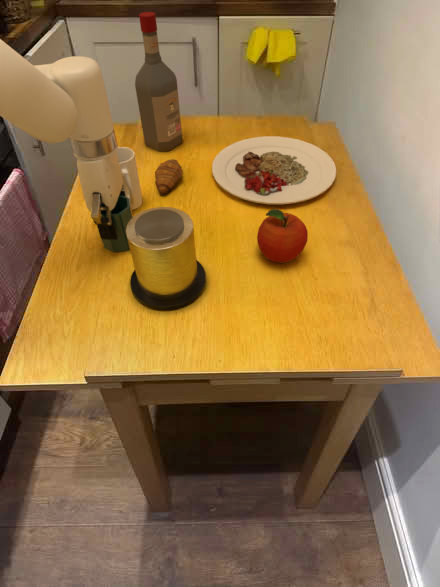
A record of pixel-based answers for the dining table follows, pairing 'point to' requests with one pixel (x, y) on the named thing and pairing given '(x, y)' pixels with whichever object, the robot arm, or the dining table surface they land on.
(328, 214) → the dining table surface
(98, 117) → the robot arm
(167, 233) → the towel holder
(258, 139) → the plated food
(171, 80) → the liquor
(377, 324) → the dining table surface
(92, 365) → the dining table surface
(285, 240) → the fruit
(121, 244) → the teal cup
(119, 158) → the mug
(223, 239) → the dining table surface
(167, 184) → the croissant
